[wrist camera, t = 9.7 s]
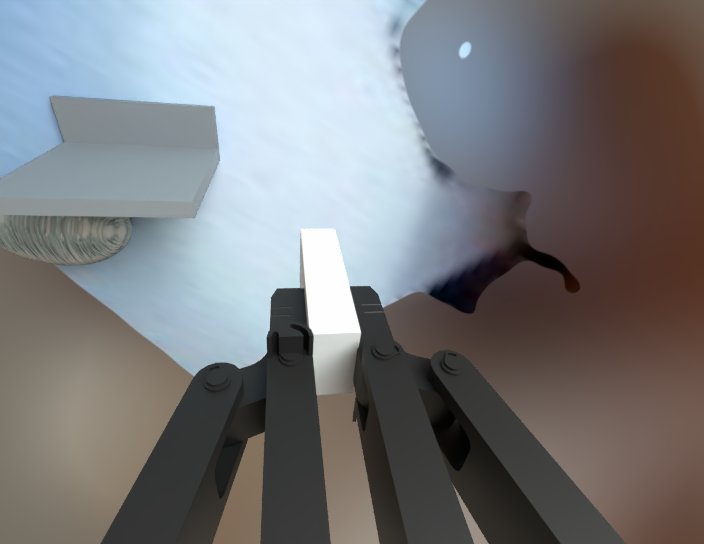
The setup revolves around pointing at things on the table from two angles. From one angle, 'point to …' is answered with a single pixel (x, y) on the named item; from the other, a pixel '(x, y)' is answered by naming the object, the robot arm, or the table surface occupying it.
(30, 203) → the grey screen
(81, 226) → the grey streaked ovoid
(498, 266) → the table surface
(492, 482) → the robot arm
